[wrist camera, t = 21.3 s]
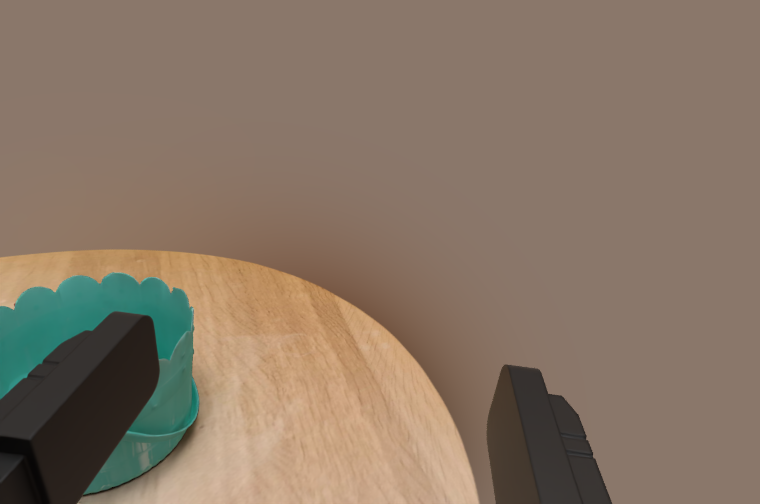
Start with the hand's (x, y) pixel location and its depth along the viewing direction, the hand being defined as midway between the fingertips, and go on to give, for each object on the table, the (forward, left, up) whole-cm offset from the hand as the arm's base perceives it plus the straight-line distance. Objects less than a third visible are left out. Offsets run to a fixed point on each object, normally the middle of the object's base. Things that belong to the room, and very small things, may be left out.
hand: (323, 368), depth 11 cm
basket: (+35, -9, -34) cm, 50 cm away
